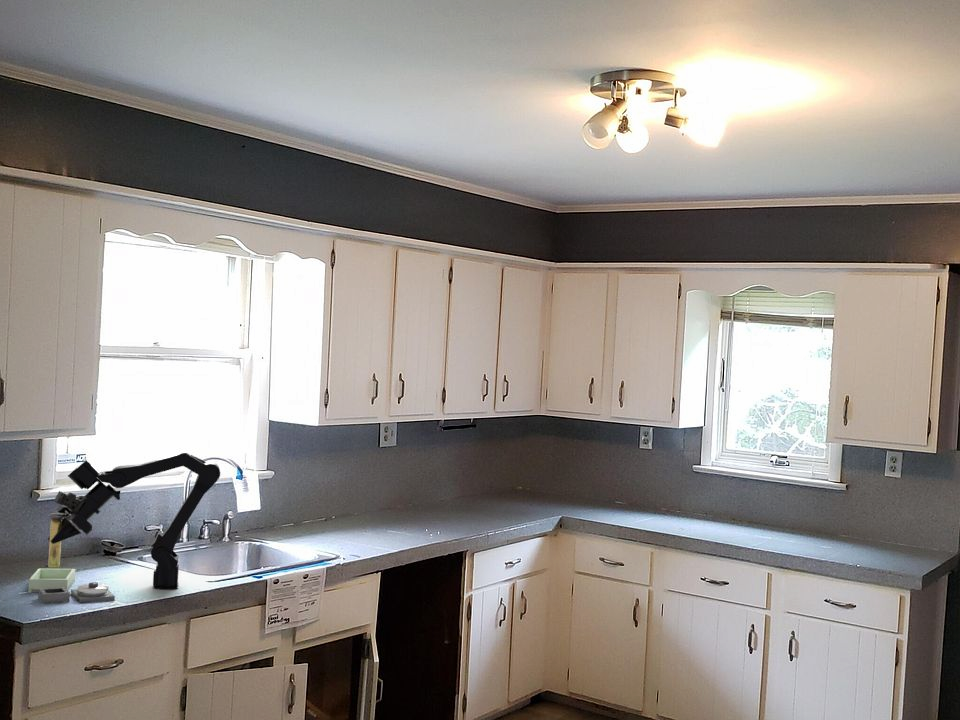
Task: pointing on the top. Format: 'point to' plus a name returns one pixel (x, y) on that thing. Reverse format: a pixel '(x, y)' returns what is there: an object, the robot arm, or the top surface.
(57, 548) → the lock pin
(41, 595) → the grey low boxy pieces
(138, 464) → the robot arm
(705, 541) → the top surface
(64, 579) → the tray
